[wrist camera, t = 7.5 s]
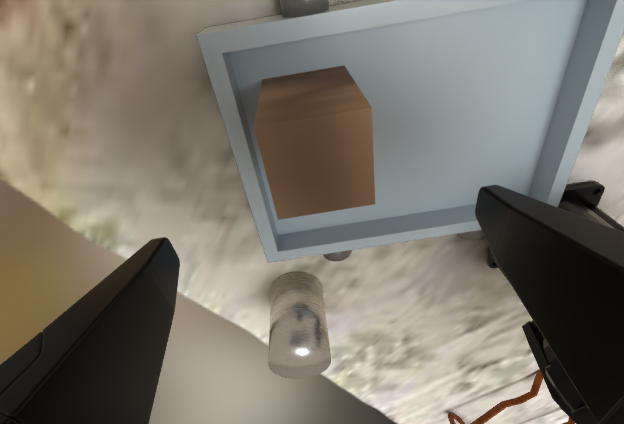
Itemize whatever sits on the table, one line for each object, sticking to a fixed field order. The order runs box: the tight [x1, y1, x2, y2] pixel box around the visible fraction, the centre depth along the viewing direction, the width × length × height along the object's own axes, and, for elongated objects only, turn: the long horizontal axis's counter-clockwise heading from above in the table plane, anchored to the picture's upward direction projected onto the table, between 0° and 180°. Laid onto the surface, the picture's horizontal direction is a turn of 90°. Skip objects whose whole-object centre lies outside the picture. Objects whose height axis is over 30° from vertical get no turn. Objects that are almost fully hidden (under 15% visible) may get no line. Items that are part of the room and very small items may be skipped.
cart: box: [196, 0, 624, 263], centre depth 18 cm, size 18×15×2 cm
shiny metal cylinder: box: [269, 272, 331, 379], centre depth 24 cm, size 4×4×6 cm
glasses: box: [448, 370, 575, 424], centre depth 40 cm, size 13×13×5 cm
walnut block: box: [254, 66, 375, 220], centre depth 15 cm, size 4×4×6 cm
